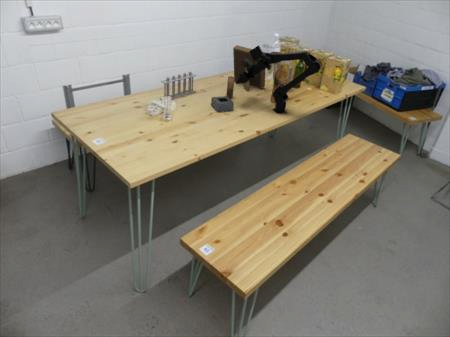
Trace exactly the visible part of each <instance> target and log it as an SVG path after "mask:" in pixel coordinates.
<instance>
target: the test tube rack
mask: <svg viewBox="0 0 450 337" xmlns="http://www.w3.org/2000/svg"><path fill="white" fill-rule="evenodd" d="M171 77H172V78H170V77H169V76H166V79H164V80H161V81H160V82H161V83H163V87H164V88H163V89H164V90H163V91H164V92H163V94H164V95H163V97H165V96H170V97H171V98H172V99H171V100H174V99H178V98H181V97H184V96H187V95H191V94H194V93H197V91H196V90H194V78H195V77H197V74H194V73H192V71H188V74H187V72H184V73H183V75H182V74H180V73H179V74H177V76H176V75H172V76H171ZM187 79H188V88H187ZM176 82H177V93H176ZM181 82H182V83H181ZM170 84H172V85H171V88H172V89H171V90H172V91H171V94H170ZM181 84H182V85H181ZM181 86H182V87H181ZM181 88H182V89H181ZM181 90H182V91H181Z"/></svg>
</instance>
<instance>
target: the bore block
mask: <svg viewBox="0 0 450 337" xmlns="http://www.w3.org/2000/svg"><path fill="white" fill-rule="evenodd" d="M210 102H211V103H210V105H211V107H212V108H213V109H214V110H215V111H216V112H217V113H223V112H222V111H224V112H233V111H234V107H235V106H234V105H235V102H234V101H233V100H232V99H230V98H229V97H228V96H226V95H223V96H212V97H211V101H210Z"/></svg>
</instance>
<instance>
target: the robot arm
mask: <svg viewBox="0 0 450 337" xmlns="http://www.w3.org/2000/svg"><path fill="white" fill-rule="evenodd" d="M251 49H252V50H251V51H249V54H250V55H251V57H252V58H253V60H255V61H258V60H259V59H260V58H261V60H260V61H258V62H257V63H255V64H253V63H252V62H251V61H250V60H249V59H247V58H246V59H244V60H243V61H242V65H243V66H244V67H246V68H247V69H246V70H247V71H248V73H247V72H246V71H243V72H241V73H240V74H239V76H240V78H239V79H238V80H237V82H235V84H236V85H239V84H241V83H246V82H248V81H249V80H250V78H254V77H256V76H257V75H259V73H260V72H262V71H263V70H264V69H265V70H266V69H267V70H268V71H270V70H271V69H272V66H273V65H274V63H277V62H280V61H289V60H290V61H299V60H302V61H303V62H304V64H305V65H306V66H307V68H306V69H305V70H303V71H302V72H301V73H300V74H297V75H296V77H294V78H293V79H292V80H291V81H290V82H289V83H287V84H286V85H284V84H283V83H282V84H281V85H280V86H279V87H277V88H276V89H275V91H274V92H273V97H274V98H275V103H274V104H275V106H274V108H272V111H274V112H275V113H276V114H285V113H288V111H286V107H287V102H288V100H289V97H290V96H289V95H288V93H289V91H290V90H292V89H293V88H294V87H296V86H297V85H298V84H300V83H301V82H303V81H304V80H305V79H306V78H308V77H310V76H313V75H315V74H317V73H319V71H321V69H323V66H324V63H323V61H322V60H321V59H318V58H317V57H316V56H314V55H312V54H311V53H310V52H309V51H307V50H303V51H294V52H292V51H291V52H281V51H271V52H266V53H263V52H264V51H263V50H262V49H261V46H260V45H257V46H255V47H254V48H251ZM286 93H287V94H286Z"/></svg>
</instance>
